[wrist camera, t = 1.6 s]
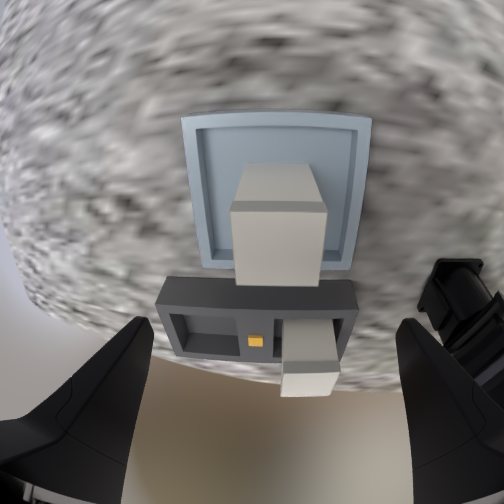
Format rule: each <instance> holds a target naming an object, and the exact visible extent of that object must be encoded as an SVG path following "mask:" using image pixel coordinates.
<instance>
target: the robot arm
mask: <svg viewBox="0 0 504 504" xmlns="http://www.w3.org/2000/svg"><path fill="white" fill-rule="evenodd" d="M483 264H484V263H483V261H482V260H481V259H440V260H438V261H437V263H436V265H435V267H434V270H433V272H432V275H431V277H430V280H429V282H428V284H427V287H426V289H425V291H424V293H423V296H422V298H421V300H420V302H419V304H418V306H417V309H418V311H419V312H427V314H428V317H429V319H430V321H431V324H432V326H433V328H434V330H435V331H438V333H439V335H440V338H441V340H442V343H443V345H444V346H442V345H441V344H440V343H439V342H438V341H437V340H436V339H435V338H434V337H433V336H432V335H431V334H430V333H429V332H428V331H427V330H426V329H425V328H424V327H423V326H422V325H421V324H420V323H419V322H418V321H417V320H416V319H415V318H405V319H403V320H402V322H401V324H400V326H399V328H398V330H397V332H396V347H397V355H398V365H399V374H400V380H401V385H402V391H403V396H404V402H405V408H406V415H407V422H408V429H409V437H410V446H411V457H412V469H413V471H412V472H413V496H414V504H504V295H503V294H502V293H501V292H500V291H499V290H498V291H497V293H496V294H495V296H494V297H492V295H491V294H490V292H489V291H488V289H487V287H486V286H485V284H484V283H483V281H482V280H481V279H480V277H479V273H480V271H481V269H482V267H483ZM153 340H154V331H153V329H152V327H151V325H150V322H149V320H148V318H146V317H141V316H136V317H135V318H133V319H132V320H131V321H130V322H129V323H128V324H127V325H126V326H125V327H124V328H122V329H121V330H120V331H119V332H118V333H117V334H116V335H115V336H114V337H113V338H112V339H110V340H109V341H108V342H107V343H106V344H105V345H104V346H103V347H102V348H101V349H100V350H99V351H98V352H97V353H95V354H94V355H93V357H91V358H90V359H89V360H88V361H87V362H86V363H85V364H84V365H83V366H82V367H81V368H80V369H79V370H78V371H77V372H75V373H74V374H73V375H72V377H70V378H69V379H68V380H67V381H66V382H65V383H64V384H63V385H62V386H61V387H60V388H58V389H57V390H56V391H55V392H54V393H53V394H52V395H50V396H49V397H48V398H47V399H46V400H44V401H43V402H42V403H41V404H39V405H38V406H37V407H36V408H35V409H33V410H32V411H31V412H30V413H28V414H27V415H25V416H23V417H21V418H18V419H11V420H3V421H0V504H121V497H122V491H123V485H124V479H125V473H126V468H127V462H128V457H129V452H130V447H131V442H132V438H133V433H134V429H135V424H136V420H137V415H138V411H139V407H140V403H141V399H142V395H143V391H144V387H145V383H146V380H147V375H148V371H149V365H150V359H151V352H152V346H153Z"/></svg>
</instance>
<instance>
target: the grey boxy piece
mask: <svg viewBox="0 0 504 504" xmlns="http://www.w3.org/2000/svg"><path fill="white" fill-rule="evenodd" d="M155 306H156V308H157V311H158V314H159V316H160V319H161V321H162V324H163V326H164V329H165V331H166V334H167V336H168V338H169V341H170V343H171V345H172V348H173V350H174V352H175V355H176V356H180V357H189V358H198V359H209V360H221V361H236V362H257V363H282V373H281V394H280V396H281V397H306V396H307V397H309V396H330V394H331V392H332V390H333V388H334V386H335V383H336V381H337V379H338V377H339V375H340V372H341V371H340V363H339V362H340V361H341V358H342V356H343V353H344V350H345V348H346V345H347V342H348V340H349V337H350V334H351V331H352V328H353V326H354V323H355V320H356V317H357V314H358V311H359V308H358V304H357V301H356V297H355V294H354V290H353V287H352V283H351V280H319V286H318V287H306V286H242V285H236V281H235V279H219V278H189V277H167V278H166V280H165V283H164V285H163V287H162V289H161V291H160V294H159V296H158V298H157V300H156V303H155Z"/></svg>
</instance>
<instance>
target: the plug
mask: <svg viewBox="0 0 504 504" xmlns="http://www.w3.org/2000/svg"><path fill="white" fill-rule="evenodd" d="M229 217H230V228H231V239H232V250H233V261H234V271H235V281H236V285H242V286H306V287H318V286H319V279H320V273H321V266H322V259H323V251H324V244H325V236H326V227H327V219H328V210H327V207H326V205H325V202H323V201H322V198H321V195H320V192H319V190H318V187H317V184H316V182H315V179H314V176H313V174H312V171H311V169H310V166H309V164H302V163H246V165H245V168H244V171H243V174H242V177H241V180H240V183H239V186H238V189H237V192H236V196H235V199H234V201H232V203H231V206H230V209H229Z"/></svg>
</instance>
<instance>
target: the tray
mask: <svg viewBox="0 0 504 504" xmlns="http://www.w3.org/2000/svg"><path fill="white" fill-rule="evenodd" d="M181 120H182V130H183V139H184V147H185V156H186V164H187V171H188V179H189V186H190V193H191V200H192V207H193V213H194V220H195V226H196V232H197V238H198V244H199V250H200V256H201V262H202V267H203V268H215V269H234V261H233V250H232V239H231V228H230V217H229V209H230V206H231V203H232V201H234V199H235V196H236V192H237V189H238V186H239V183H240V180H241V177H242V174H243V171H244V168H245V165H246V163H302V164H309V166H310V169H311V171H312V174H313V176H314V179H315V182H316V184H317V187H318V190H319V192H320V195H321V198H322V201H323V202H325V205H326V207H327V210H328V219H327V227H326V236H325V244H324V251H323V259H322V266H321V270H350V267H351V262H352V258H353V253H354V248H355V243H356V238H357V232H358V227H359V221H360V215H361V209H362V203H363V196H364V189H365V182H366V174H367V166H368V157H369V147H370V136H371V123H372V119H371V118H369V117H367V116H365V115H362V114H355V113H345V112H334V111H321V110H302V109H244V110H225V111H211V112H200V113H191V114H188V115H186V116H184V117H181Z"/></svg>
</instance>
